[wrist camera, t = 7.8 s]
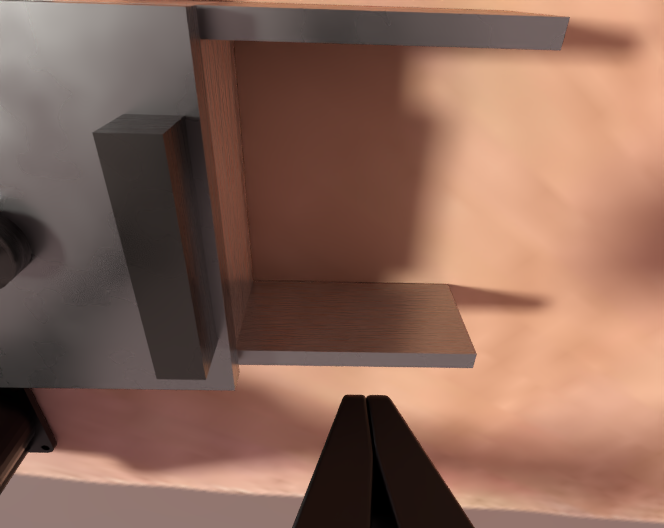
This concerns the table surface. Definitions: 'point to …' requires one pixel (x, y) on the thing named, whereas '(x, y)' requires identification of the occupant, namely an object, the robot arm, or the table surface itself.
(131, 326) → the lid
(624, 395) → the table surface
